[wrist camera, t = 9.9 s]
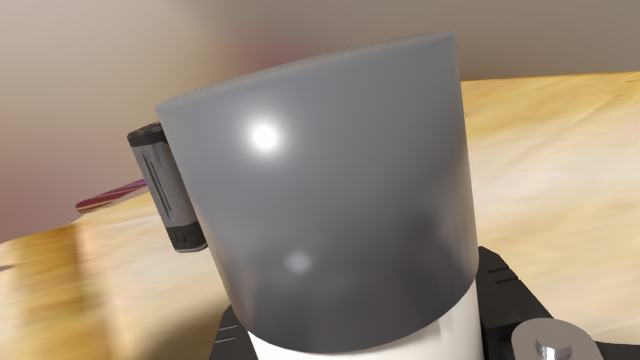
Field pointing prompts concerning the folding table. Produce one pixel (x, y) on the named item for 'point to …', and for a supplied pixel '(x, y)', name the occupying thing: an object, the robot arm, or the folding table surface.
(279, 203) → the marker
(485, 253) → the robot arm
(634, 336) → the folding table surface
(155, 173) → the electronic device
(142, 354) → the folding table surface
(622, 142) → the folding table surface
